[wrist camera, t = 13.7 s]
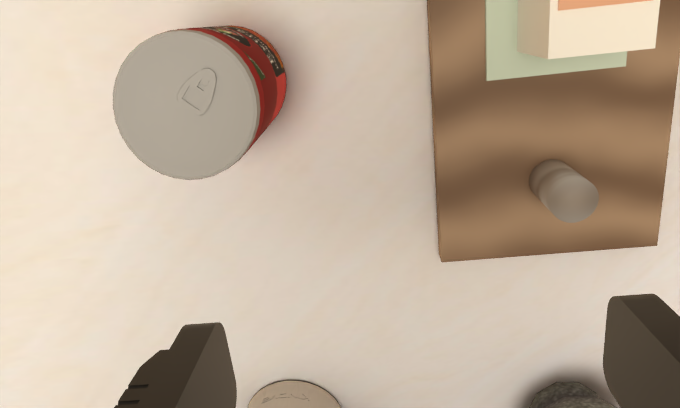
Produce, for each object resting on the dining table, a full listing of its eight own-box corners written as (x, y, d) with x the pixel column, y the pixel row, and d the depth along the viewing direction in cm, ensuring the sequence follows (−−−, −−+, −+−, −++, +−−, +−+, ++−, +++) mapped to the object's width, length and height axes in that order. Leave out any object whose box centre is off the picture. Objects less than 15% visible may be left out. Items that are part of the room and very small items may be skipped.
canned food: (302, 48, 35) (277, 61, 25) (268, 151, 38) (233, 202, 28) (198, 7, 35) (128, 4, 24) (171, 115, 38) (98, 153, 27)
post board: (646, 237, 39) (693, 274, 34) (438, 253, 40) (450, 292, 35) (685, -119, 31) (756, -149, 25) (422, -84, 32) (435, -105, 27)
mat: (623, 65, 33) (626, 66, 33) (485, 80, 34) (486, 81, 34) (636, -88, 30) (639, -89, 30) (484, -69, 31) (485, -69, 31)
